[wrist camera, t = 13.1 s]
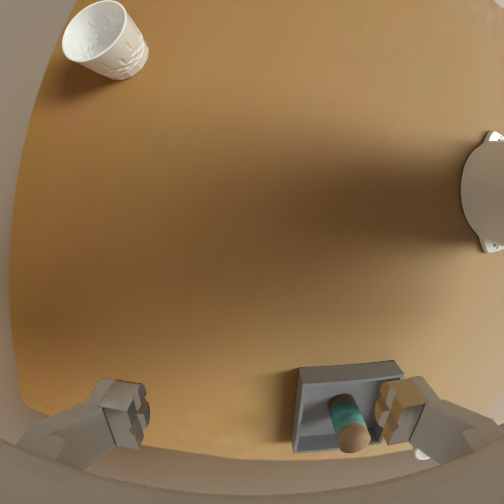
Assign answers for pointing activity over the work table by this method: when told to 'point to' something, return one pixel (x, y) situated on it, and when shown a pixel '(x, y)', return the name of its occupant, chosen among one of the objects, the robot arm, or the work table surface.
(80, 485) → the robot arm
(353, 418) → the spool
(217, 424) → the work table surface
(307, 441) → the bin
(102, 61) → the white cup
